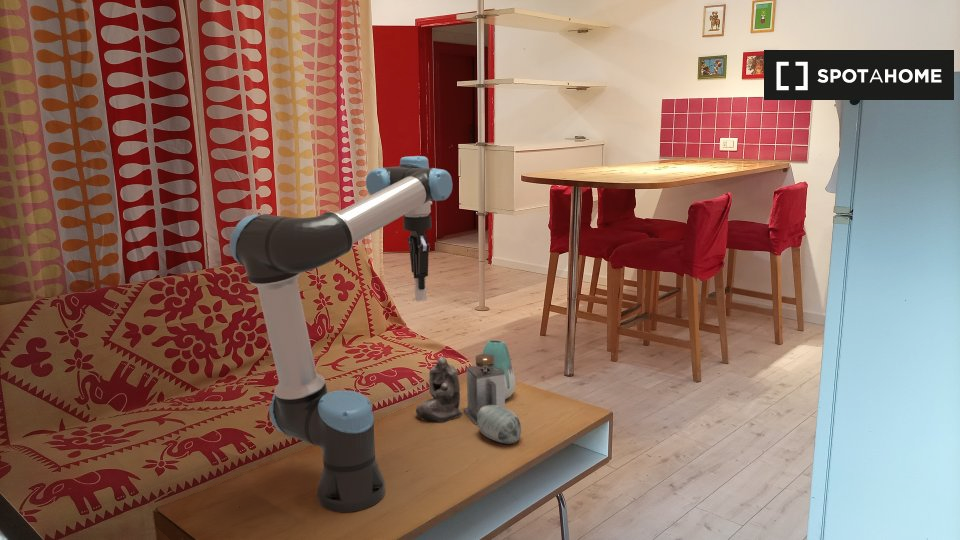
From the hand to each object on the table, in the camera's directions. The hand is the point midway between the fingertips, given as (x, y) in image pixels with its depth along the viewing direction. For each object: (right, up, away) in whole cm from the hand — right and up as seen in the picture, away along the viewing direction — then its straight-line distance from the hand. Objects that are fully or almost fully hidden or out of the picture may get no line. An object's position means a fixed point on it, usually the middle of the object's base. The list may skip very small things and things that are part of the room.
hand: (420, 300), depth 198 cm
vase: (+21, -30, +20) cm, 42 cm away
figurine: (+5, -34, +8) cm, 35 cm away
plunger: (+18, -29, +7) cm, 34 cm away
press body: (+18, -33, +8) cm, 38 cm away
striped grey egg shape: (+21, -36, -7) cm, 43 cm away
